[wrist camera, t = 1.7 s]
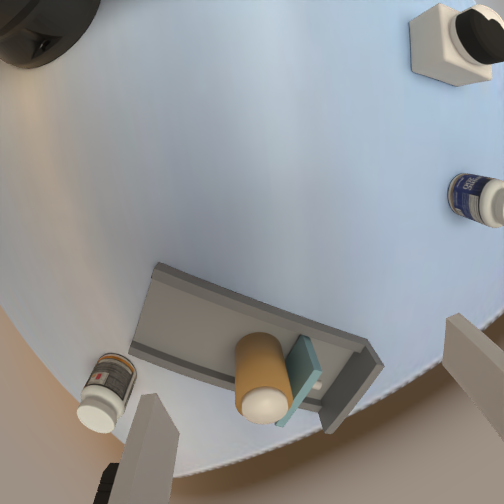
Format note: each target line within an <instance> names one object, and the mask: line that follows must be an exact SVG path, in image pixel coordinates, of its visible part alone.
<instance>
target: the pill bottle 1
mask: <svg viewBox="0 0 504 504" xmlns="http://www.w3.org/2000/svg"><path fill="white" fill-rule="evenodd" d="M135 381H136V371H135V368H134V367H133V365H132V364H131V363H130V362H129V361H128V360H127V359H125V358H124V357H122V356H119V355H116V354H107V355H104V356H102V357H101V358H100V359H99V361H98V362H97V364H96V366H95V368H94V369H93V371H92V373H91V375H90V377H89V379H88V381H87V383H86V384H85V386H84V388H83V390H82V393H81V403H80V405H79V407H78V409H77V416H78V418H79V420H80V421H81V422H82V423H83V424H84V425H85V426H87V427H88V428H89V429H91V430H93V431H96V432H99V433H109V432H111V431H113V429H114V427H115V425H116V423H117V419H119V418H120V417H121V416H122V415H123V414H124V412H125V409H126V406H127V403H128V400H129V397H130V395H131V392H132V389H133V387H134V384H135Z"/></svg>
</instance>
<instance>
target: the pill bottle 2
mask: <svg viewBox="0 0 504 504" xmlns="http://www.w3.org/2000/svg"><path fill="white" fill-rule="evenodd" d="M448 199H449V203H450V206H451V208H452V210H453V211H454V212H455V213H457V214H458V215H461V216H463V217H466V218H468V219H471V220H474V221H476V222H479V223H481V224H484V225H486V226H489V227H492V228H499V227H501V226H504V181H502V180H499V179H494V178H489V177H484V176H478V175H473V174H466V173H463V174H459V175H457V176H456V177H455V178H454V179H453V180H452V182H451V184H450V187H449V191H448Z"/></svg>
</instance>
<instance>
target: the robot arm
mask: <svg viewBox="0 0 504 504" xmlns="http://www.w3.org/2000/svg"><path fill="white" fill-rule="evenodd" d="M99 3H100V0H0V58H1V59H2V60H3V61H5V62H6V63H8V64H11V65H14V66H17V67H21V68H34V67H38V66H41V65H44V64H46V63H48V62H50V61H52V60H54V59H56V58H57V57H59V56H60V55H61V54H63V53H64V52H65V51H66V50H68V49H69V48H70V47H71V46H72V45H73V44H74V43H75V42H76V41H77V40H78V39H79V38H80V37H81V35H82V34H83V33H84V32H85V30H86V29H87V27H88V26H89V24H90V23H91V21H92V19H93V18H94V16H95V14H96V11H97V9H98V6H99ZM442 365H443V366H444V367H445V368H446V369H447V371H448V372H449V373H450V374H451V375H452V376H453V378H454V379H455V380H456V381H457V383H458V384H459V385H460V386H461V387H462V389H463V390H464V391H465V392H466V393H467V395H468V396H469V397H470V398H471V400H472V401H473V402H474V403H475V405H476V406H477V407H478V408H479V410H480V411H481V412H482V413H483V415H484V416H485V417H486V419H487V420H488V421H489V422H490V424H491V425H492V426H493V428H494V429H495V430H496V432H497V433H498V434H499V436H500V437H501V438H502V440H503V441H504V351H503V350H501V349H500V348H499V347H498V346H497V345H496V344H495V343H494V342H493V341H491V340H490V339H489V338H488V337H487V336H486V335H485V334H483V333H482V332H481V331H480V330H479V329H478V328H477V327H475V326H474V325H473V324H472V323H471V322H470V321H468V320H467V319H466V318H465V317H464V316H462V315H461V314H460V313H457V314H455V315H453V316H450V317H448V318H446V330H445V342H444V352H443V361H442ZM179 434H180V433H179V431H178V430H177V428H176V426H175V425H174V423H173V421H172V419H171V418H170V416H169V414H168V413H167V411H166V409H165V407H164V406H163V404H162V402H161V400H160V398H159V397H158V395H157V393H155V394H147V395H141V398H140V401H139V404H138V407H137V410H136V413H135V416H134V419H133V422H132V425H131V428H130V431H129V434H128V438H127V441H126V444H125V447H124V450H123V454H122V457H121V460H120V463H110V464H109V465H108V467H107V468H106V469H105V470H104V472H103V474H102V477H101V480H100V484H99V487H98V490H97V491H98V492H97V493H96V496H95V499H94V503H93V504H169V500H170V492H171V486H172V479H173V472H174V466H175V459H176V453H177V447H178V440H179Z"/></svg>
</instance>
